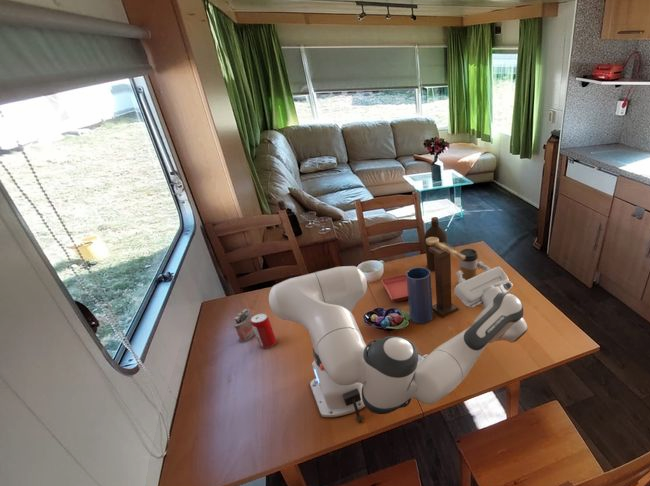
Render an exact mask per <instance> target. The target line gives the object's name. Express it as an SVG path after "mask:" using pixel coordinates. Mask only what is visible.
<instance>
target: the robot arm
mask: <svg viewBox="0 0 650 486" xmlns="http://www.w3.org/2000/svg"><path fill="white" fill-rule="evenodd" d="M477 269H478V270H480V269H482V270H483V272H482V273H479V274H478V275H477V274H476V276H475V277H473V278H471V279H468V280H465V279H463V278H462V275H463V274H464V273H463V272H462V271H461V270H460V269H459V270H457V271H456V273H455V275H456V276H457V278H458V283H457V284H456V286H455V287H454V289H453V292H454V294H455V296H456V297H457V298H458V299H459V300H460V301H461V302H462V303H463V305H464V306H465V307H466V308H469V309H474V308H476V307H478V306H481V308H483V310H482V311H481V312H480V313H479V314H478V315H477V316H476V318H475V319H474V320H473V322H472V325H470V326H468V328H466V329H464V330H463V331H461V332H460V333H458V334H456V335H454V336H453V337H451V338H450V339H448V340H446V341H445V342H443V343H442V344H439V346H437V347H436V348H434V349H433V350H432V351H431V352H430V353H428V354H427V355H426V356H425V357H424V358H423V359H420V360H419V350H418V348H417V346H416V345H415V343H414V342H413V341H412V340H410V339H409V338H406V337H404V336H401V335H389V336H384V337H381V338H375V339H373V340H371V341H369V343H366V342H365V339H364V337H363V335H362V332H361V329H360V327H359V325H358V324H357V321H356V318H355V316H354V315H353V311H354V309H355V307H356V306H357V304H358V303H359V302H360V301H361V300H362V299H363V298H364V297H365V295H366V293H367V290H368V280H367V277H366V275H365V273H364V272H363V271H362V269H360V268H359V267H357V266H355V265H344V266H343V265H342V266H335V267H332V268H331V267H330V268H327V269H322V270H318V271H315V272H312V273H307V274H304V275H303V274H302V275H299V276H298V275H297V276H295V277H289V278H287V279H285V280H282V281H281V282H279V283H276V284H274V285H272V286H271V289H270V291H269V293H268V305H269V308H270V309H271V312H272V313H273V314H274V315H275V316H276V317H278V318H279V319H282V320H285V321H291V322H294V323H297V324H299V325H300V326H302V327H304V328H305V329H306V330H307V331H308V334H309V337H310V340H311V344H312V354H313V358H314V360H313V361H312V363H311V366H312V369H313V373H314V377H315V378H314V379H312V380H311V381H310V383H309V385H310V389H311V392H312V395H313V398H314V400H315V403H316V406H317V408H318V410H319V413H320V414H319V415H320V416H321V417H324V418H338V417H341V416H342V417H343V416H346V415H350V414H352V413H354V412H355V414H356V418H357V420H358V422H359V423H362V422H363V420H362V418H361V414H360V412H359V410H362V409H363V408H365V409H366V410H368V411H369V412H371V413H373V414H376V415H387V414H390V413H393V412H395V411H397V410H399V409H402V408H405V407H408V406H409V405H410V404H411V401H412V399H416V400H417V401H418V402H420V403H422V404H425V405H433V404H436V403H438V402H440V401H441V400H442V399H444V398H445V397H447V396H448V395H449V394H451V393H452V392H453V391H454V390H455V389H456V388H457V387H458V386H459V385H460V384H461V383H462V382H463V381H464V380H465V378H467V376H468V374H469V373H470V372H471V370H472V368H473V367H474V365H475V364H476V362H477V361H478V359H479V358H480V357H481V354H483V352H484V350H485V349H486V347H487V346H488V344H492V343H494V342H499V341H503V342H504V341H506V342H509V343H511V344H513V343H516V342H517V341H518V340H520V339H521V338H522V337H523V336H524V335H525V334H526V333H527V332H528V328H529V327H528V324H527V322H526V320H525V318H524V306H523V302H522V301H521V299H520V298H519V296H517V295H516V294H514V293H511V292H510V291H511V290H512V288H513V287H514V283H512V281H510V280H509V277H508V274H507V273H506V272H505V270H503V268H502V267H500V266H495V267H493V268H491V267H490V266H488V265H486V264H485V263H484V262H483V261H477Z"/></svg>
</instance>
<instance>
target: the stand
mask: <svg viewBox="0 0 650 486" xmlns="http://www.w3.org/2000/svg"><path fill="white" fill-rule="evenodd" d="M442 244H444V245H446V246H448V247H450V248H451V249H453V250H455V251H456V247H453V245H450V244H448V243H447V244H446V243H444V242H442ZM429 251H430V252H432V253H433V254H434V264H435V271H434V281H435V282H434V283H435V298H436V299H435V300H436V302H435V304H432V308H433V313H435V314H437V315H438V316H439V317H441V318H445V317H448V316H449V315H451V314H453V313H455V312H457V311H459V307H458V306H457V305H455V304H454V303H452V302H453V301H452V300H453V299H452V269H451V268H452V265H451V261H452V260H451V254H450V253H448V252H446V251H444V250H442V249H441V248H439V247H437V246H435V245H434V246H431V247H429Z"/></svg>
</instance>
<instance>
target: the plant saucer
mask: <svg viewBox="0 0 650 486" xmlns="http://www.w3.org/2000/svg"><path fill="white" fill-rule="evenodd" d="M381 283H382V285H383V286H384V289H385V290H386V292H387V294H388V296H389V298H390V299H391V300H392V301H393V302H396V303H398V302H401V301H402V302H403V301H406V300H408V292H407V282H406V273H404V274H399V275H394V276H390V277H386V278H382V279H381ZM432 290H433V288H432V287H431V291H432Z"/></svg>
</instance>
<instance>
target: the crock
mask: <svg viewBox="0 0 650 486" xmlns="http://www.w3.org/2000/svg"><path fill="white" fill-rule="evenodd" d="M405 274H406V282H407V292H408V299H407V300H408V301H407V302H408V311H409V319H410V321H411V322H413V323H415V324H421V325H422V324H426V323H429V322H431V321H432V320H433V317H434V311H433V308H432V306H433V294H432V290H431V288H432V277H431V270H430V269H428V268H427V267H423V266H422V267H421V266H418V267H413V268H410V269H408V270H406V272H405ZM410 317H411V318H410Z"/></svg>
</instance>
